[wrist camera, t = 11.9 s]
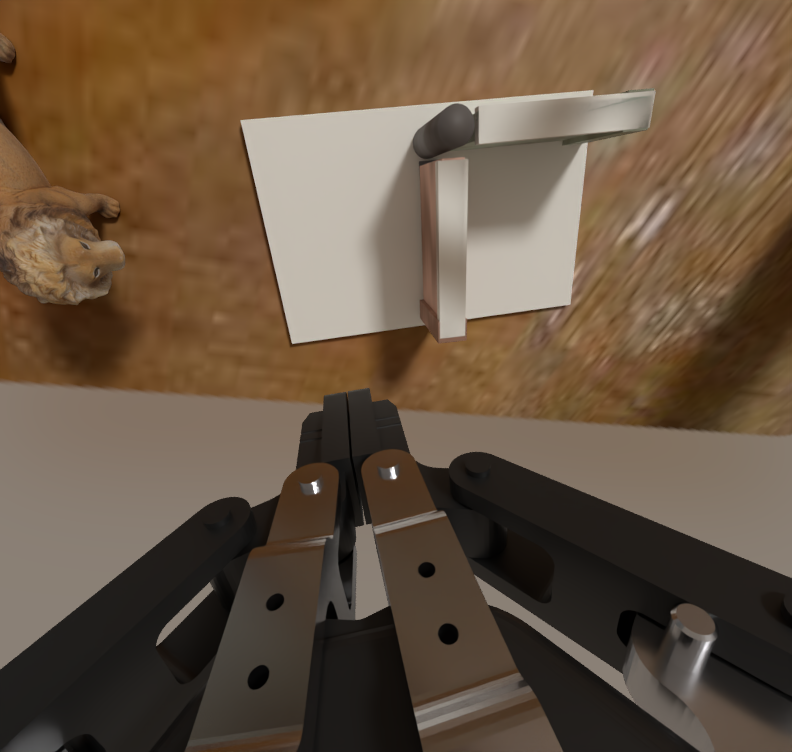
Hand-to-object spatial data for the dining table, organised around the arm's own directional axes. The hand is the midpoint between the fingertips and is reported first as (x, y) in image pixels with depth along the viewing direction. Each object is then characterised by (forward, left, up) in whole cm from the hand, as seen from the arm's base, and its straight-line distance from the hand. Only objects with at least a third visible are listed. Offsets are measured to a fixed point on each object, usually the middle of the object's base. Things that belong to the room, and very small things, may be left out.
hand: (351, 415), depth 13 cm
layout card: (-7, -4, -17) cm, 19 cm away
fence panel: (-7, -3, -16) cm, 18 cm away
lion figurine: (+15, -9, -17) cm, 24 cm away
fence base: (-12, -9, -17) cm, 22 cm away
